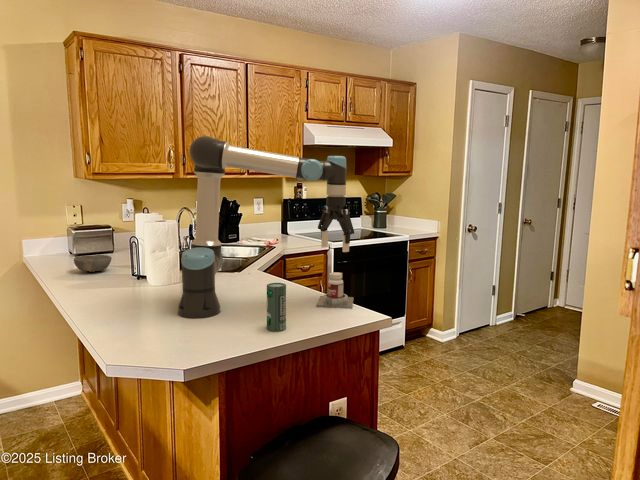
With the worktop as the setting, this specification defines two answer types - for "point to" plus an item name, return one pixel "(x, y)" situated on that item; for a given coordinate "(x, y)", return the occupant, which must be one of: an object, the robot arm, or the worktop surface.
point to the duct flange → (335, 302)
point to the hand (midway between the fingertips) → (334, 249)
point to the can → (276, 307)
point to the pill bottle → (335, 285)
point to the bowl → (92, 262)
